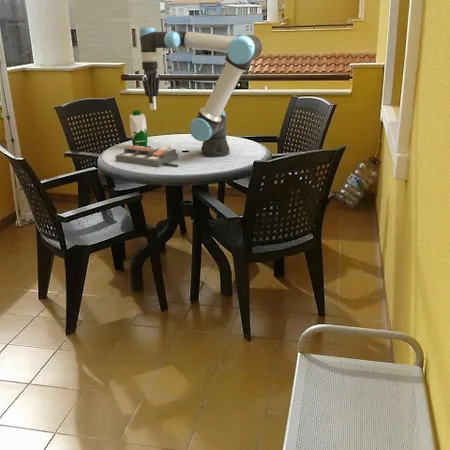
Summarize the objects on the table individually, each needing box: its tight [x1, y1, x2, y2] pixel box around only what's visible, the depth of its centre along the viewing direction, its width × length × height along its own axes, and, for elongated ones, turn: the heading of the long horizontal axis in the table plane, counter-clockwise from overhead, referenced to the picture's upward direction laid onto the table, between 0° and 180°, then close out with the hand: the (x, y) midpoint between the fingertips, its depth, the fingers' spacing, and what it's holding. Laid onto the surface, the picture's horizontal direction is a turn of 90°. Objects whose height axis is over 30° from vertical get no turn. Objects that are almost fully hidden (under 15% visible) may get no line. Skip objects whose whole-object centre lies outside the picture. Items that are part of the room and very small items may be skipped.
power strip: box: [115, 145, 179, 168], centre depth 269 cm, size 36×17×5 cm, turn 59°
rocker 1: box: [127, 145, 144, 150], centre depth 276 cm, size 4×10×1 cm, turn 149°
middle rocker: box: [140, 147, 159, 151], centre depth 272 cm, size 4×10×1 cm, turn 149°
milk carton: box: [129, 110, 148, 147], centre depth 294 cm, size 9×9×20 cm
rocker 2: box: [153, 145, 172, 157], centre depth 268 cm, size 4×10×1 cm, turn 149°
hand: (153, 109), depth 269 cm, fingers closed
